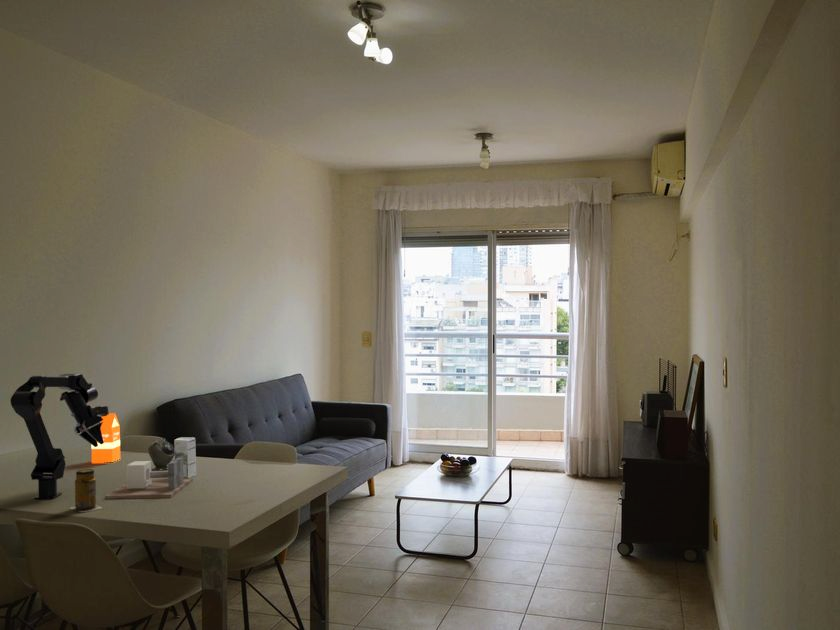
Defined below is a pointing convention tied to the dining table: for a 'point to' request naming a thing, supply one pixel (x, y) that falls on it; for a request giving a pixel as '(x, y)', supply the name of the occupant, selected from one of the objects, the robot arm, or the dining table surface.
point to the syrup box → (186, 455)
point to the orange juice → (108, 441)
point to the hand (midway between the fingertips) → (99, 445)
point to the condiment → (85, 491)
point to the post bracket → (157, 484)
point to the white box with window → (138, 474)
